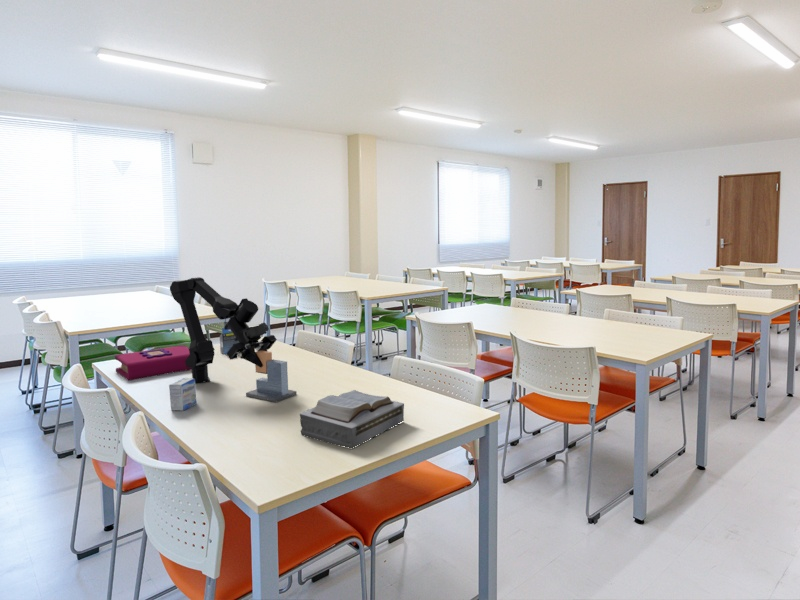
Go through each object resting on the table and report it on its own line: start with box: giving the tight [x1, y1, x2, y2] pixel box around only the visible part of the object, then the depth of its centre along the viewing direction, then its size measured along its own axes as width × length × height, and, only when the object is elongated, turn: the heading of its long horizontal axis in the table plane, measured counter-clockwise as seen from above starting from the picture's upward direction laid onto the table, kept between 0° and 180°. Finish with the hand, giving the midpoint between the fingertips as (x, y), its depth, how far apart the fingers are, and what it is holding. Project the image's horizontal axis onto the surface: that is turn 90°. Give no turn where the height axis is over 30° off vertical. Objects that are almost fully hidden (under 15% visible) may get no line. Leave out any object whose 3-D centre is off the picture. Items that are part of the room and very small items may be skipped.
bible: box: [299, 389, 405, 448], centre depth 155 cm, size 23×27×10 cm
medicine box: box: [168, 377, 198, 412], centre depth 176 cm, size 8×4×9 cm, turn 168°
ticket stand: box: [245, 358, 298, 403], centre depth 187 cm, size 14×10×12 cm
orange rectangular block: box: [254, 350, 273, 375], centre depth 188 cm, size 5×3×7 cm, turn 59°
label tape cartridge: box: [219, 327, 239, 355], centre depth 254 cm, size 9×4×12 cm, turn 130°
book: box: [114, 344, 192, 381], centre depth 225 cm, size 21×28×8 cm
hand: (265, 365), depth 188 cm, fingers closed on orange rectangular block, 3 cm apart
